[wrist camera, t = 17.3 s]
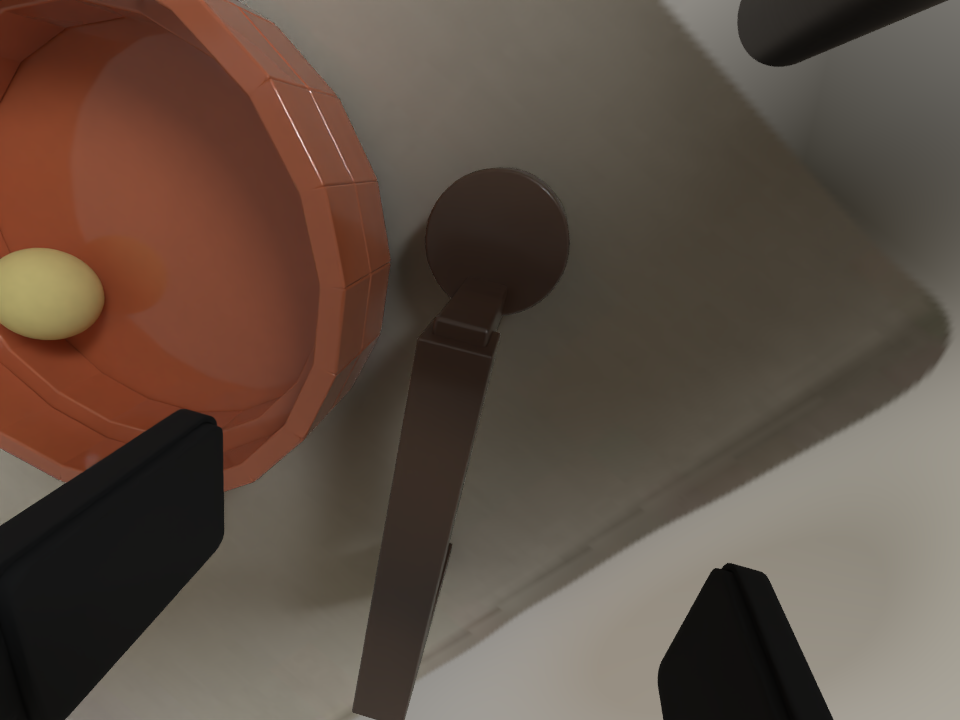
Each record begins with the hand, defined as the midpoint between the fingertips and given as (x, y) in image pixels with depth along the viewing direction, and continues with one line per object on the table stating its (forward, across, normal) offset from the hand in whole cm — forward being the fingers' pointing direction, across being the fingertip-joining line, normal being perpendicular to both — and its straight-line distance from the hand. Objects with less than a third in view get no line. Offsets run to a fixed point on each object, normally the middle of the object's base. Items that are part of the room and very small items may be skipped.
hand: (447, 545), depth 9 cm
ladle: (+8, +1, +2) cm, 9 cm away
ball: (+6, +15, +1) cm, 16 cm away
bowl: (+8, +12, -2) cm, 15 cm away
